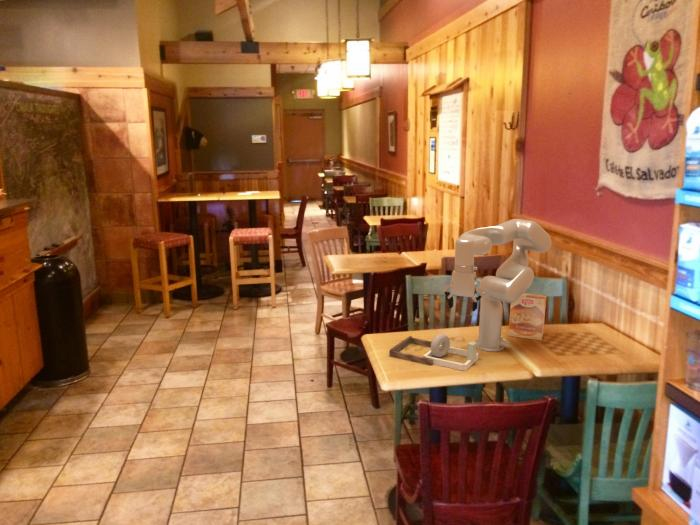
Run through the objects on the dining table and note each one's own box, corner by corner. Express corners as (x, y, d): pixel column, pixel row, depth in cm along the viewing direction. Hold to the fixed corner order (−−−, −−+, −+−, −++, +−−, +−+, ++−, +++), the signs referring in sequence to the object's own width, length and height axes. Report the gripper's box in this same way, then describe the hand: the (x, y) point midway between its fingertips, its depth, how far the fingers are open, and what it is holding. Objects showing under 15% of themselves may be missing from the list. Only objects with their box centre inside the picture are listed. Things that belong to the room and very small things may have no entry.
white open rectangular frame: (480, 358, 245) (481, 337, 243) (467, 371, 231) (468, 350, 229) (437, 349, 254) (438, 329, 252) (422, 361, 241) (423, 340, 239)
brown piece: (449, 350, 254) (449, 344, 253) (431, 366, 237) (431, 359, 236) (409, 342, 263) (409, 336, 262) (389, 356, 246) (389, 349, 246)
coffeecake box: (507, 336, 272) (510, 295, 268) (509, 331, 279) (512, 291, 274) (541, 340, 267) (545, 299, 262) (543, 335, 273) (546, 295, 269)
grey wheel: (434, 361, 242) (435, 337, 240) (428, 358, 245) (429, 335, 243) (451, 355, 248) (452, 333, 246) (445, 353, 251) (446, 330, 249)
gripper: (487, 268, 237) (485, 309, 242) (446, 264, 245) (445, 303, 249) (482, 272, 231) (481, 314, 235) (440, 268, 239) (439, 308, 243)
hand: (462, 308), depth 242 cm, fingers open, 9 cm apart
